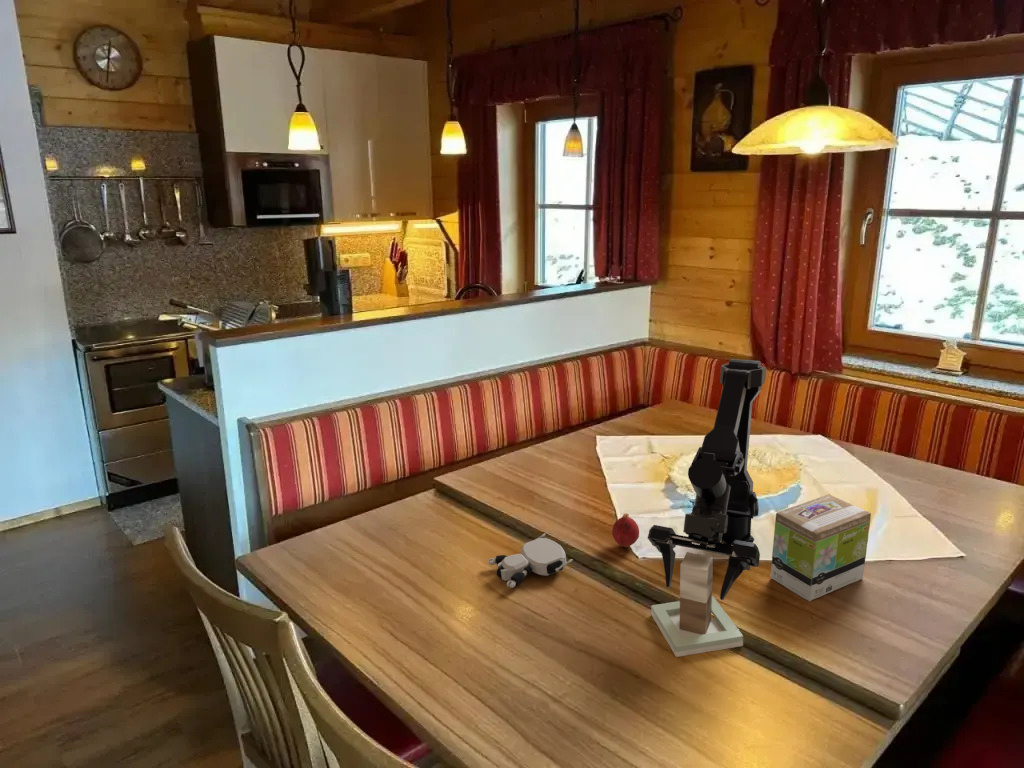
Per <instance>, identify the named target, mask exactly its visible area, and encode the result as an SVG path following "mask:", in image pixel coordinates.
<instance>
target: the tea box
mask: <svg viewBox="0 0 1024 768" xmlns="http://www.w3.org/2000/svg"><path fill="white" fill-rule="evenodd" d="M871 514H872V513H871V512H869V511H867V510H865V509H863V508H860V507H858V506H856V505H853V503H850V502H847V501H845V500H843V499H841V498H838V497H836V496H833V495H832V494H826V495H824V496H823V495H822V496H819V497H817V498H814V499H812V500H809V501H806V502H803V503H800V504H797V505H795V506H791V507H789V508H786V509H784V510H780V511H777V512H776V514H775V520H774V529H773V530H774V531H773V532H774V533H773V542H772V543H773V544H772V555H771V565H770V577H769V578H771V579H772V580H774V581H775V582H777V583H778V584H780V585H782V586H783V587H784V588H786V589H788V590H789V591H791V592H793V594H795V595H797V596H799V597H800V598H803V599H804V600H806V601H808V602H812V601H813V600H815V599H818V598H821V597H823V596H825V595H827V594H830V593H832V592H834V591H836V590H839V589H841V588H844V587H845V586H848V585H850V584H854V583H855V582H858V581H861V580H862V579H863V578H864V573H865V566H866V557H867V550H868V549H867V548H868V542H869V541H868V540H869V533H870V527H871V526H870V525H871V517H872V515H871Z"/></svg>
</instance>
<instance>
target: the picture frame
mask: <svg viewBox="0 0 1024 768" xmlns="http://www.w3.org/2000/svg"><path fill="white" fill-rule="evenodd" d="M650 608H651V609H650V614H651V616H652V618H653V620H654V622H655V623H656V625H657V627H658V628H659V630H660V632H661V634H662V636H663V638H664V639H665V640H666V642H667V644H668V646H669V647H670V649H671V650H672V653H673V654H674V657H675V658H678V657H679V658H680V657H683V656H690V655H696V654H704V653H708V652H709V653H710V652H714V651H720V650H726V649H732V648H738V647H739V648H740V647H743V646H744V635H743V634H742V632H741V631H740V629H739V628H738V627H737V625H736V624H735V623H734V621H733V620H732V618H730V617H729V615H728V614H727V612H726V611H725V610H724V609H723V608H722V606H721V605H720V603H719V602H718V601H717V599H716V598H715V597H714V596H713V595H712V608H711V613H712V614H713V615H714V618H715V619H714V618H712V617H711V622H710V625H709V627H708V630H707V632H706V634H703V635H701V634H697V633H693V632H689V631H685V630H681V629H680V600H677V601H671V602H666V603H665V602H664V603H658V604H651V606H650Z"/></svg>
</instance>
